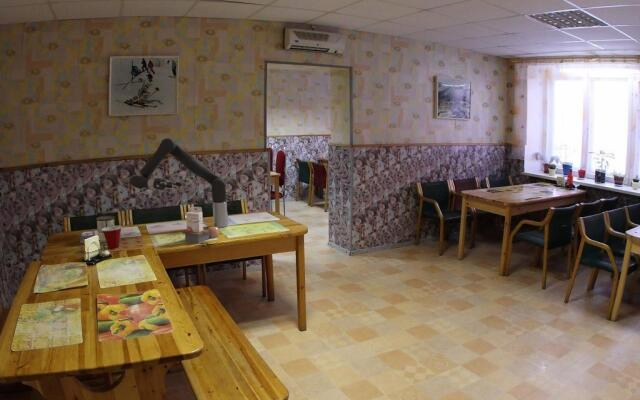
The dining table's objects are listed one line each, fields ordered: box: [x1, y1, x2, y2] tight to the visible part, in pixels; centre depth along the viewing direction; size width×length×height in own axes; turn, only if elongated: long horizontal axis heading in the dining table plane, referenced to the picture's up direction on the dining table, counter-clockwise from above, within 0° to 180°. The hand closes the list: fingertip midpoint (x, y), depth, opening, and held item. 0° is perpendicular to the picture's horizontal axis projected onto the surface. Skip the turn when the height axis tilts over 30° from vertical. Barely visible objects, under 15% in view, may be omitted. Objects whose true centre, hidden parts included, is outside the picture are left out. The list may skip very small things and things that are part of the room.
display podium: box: [182, 228, 211, 244], centre depth 284 cm, size 12×12×6 cm
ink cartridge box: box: [185, 206, 204, 232], centre depth 281 cm, size 9×5×15 cm, turn 76°
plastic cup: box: [102, 225, 122, 250], centre depth 267 cm, size 11×11×12 cm
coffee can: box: [95, 215, 116, 243], centre depth 284 cm, size 10×10×14 cm
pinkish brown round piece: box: [207, 226, 220, 239], centre depth 292 cm, size 6×6×6 cm
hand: (176, 185), depth 292 cm, fingers open, 8 cm apart
